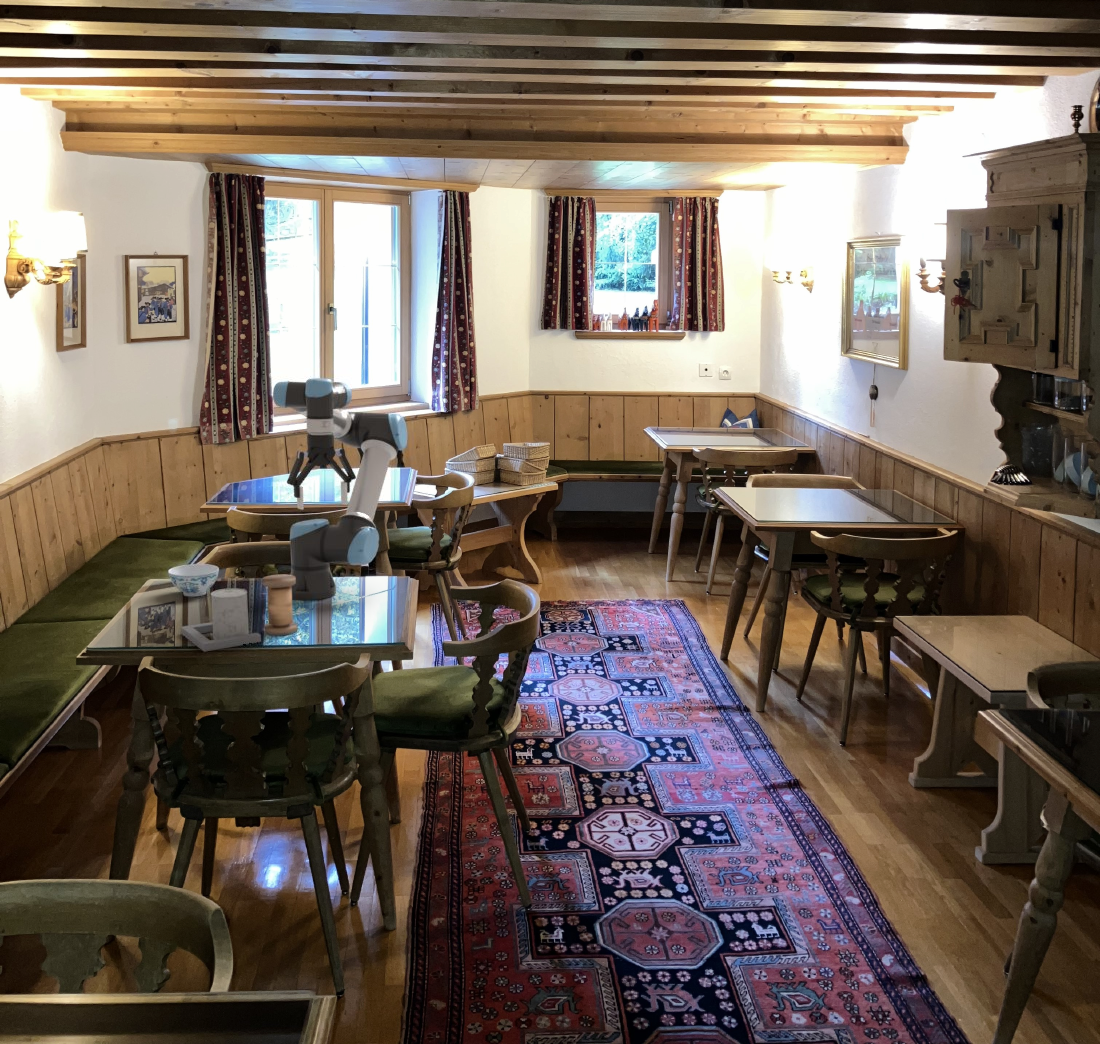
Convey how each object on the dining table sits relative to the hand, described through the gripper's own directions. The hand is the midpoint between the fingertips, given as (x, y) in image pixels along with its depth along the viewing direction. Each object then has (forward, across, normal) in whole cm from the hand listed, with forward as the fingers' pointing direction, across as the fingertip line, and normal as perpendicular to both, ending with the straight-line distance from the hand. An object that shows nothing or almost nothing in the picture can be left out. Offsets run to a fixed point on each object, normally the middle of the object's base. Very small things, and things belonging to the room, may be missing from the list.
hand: (322, 506), depth 334 cm
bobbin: (+32, -18, -10) cm, 38 cm away
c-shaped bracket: (+32, -34, -8) cm, 47 cm away
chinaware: (+32, -25, +42) cm, 58 cm away
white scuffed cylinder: (+32, -31, -8) cm, 45 cm away
